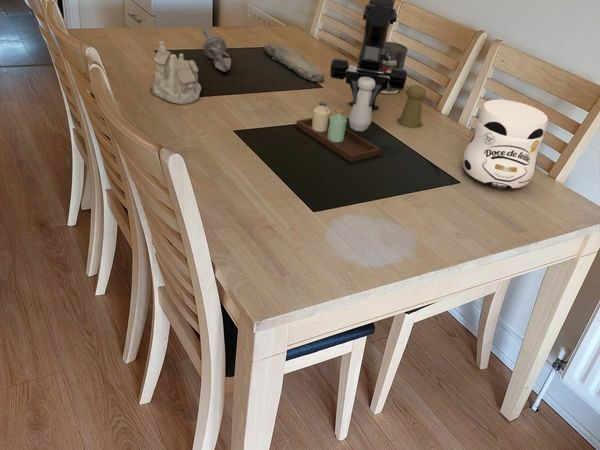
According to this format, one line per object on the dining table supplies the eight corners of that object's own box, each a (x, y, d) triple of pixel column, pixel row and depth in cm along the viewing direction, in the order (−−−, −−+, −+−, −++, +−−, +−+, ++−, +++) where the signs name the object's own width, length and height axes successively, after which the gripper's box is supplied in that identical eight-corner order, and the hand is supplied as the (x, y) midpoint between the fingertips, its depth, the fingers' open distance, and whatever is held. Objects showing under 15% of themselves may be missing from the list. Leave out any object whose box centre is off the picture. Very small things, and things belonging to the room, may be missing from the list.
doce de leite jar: (491, 200, 141) (515, 130, 131) (445, 166, 153) (463, 100, 143) (543, 190, 148) (569, 123, 138) (495, 159, 161) (515, 95, 151)
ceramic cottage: (171, 105, 166) (173, 51, 159) (142, 88, 176) (143, 36, 169) (218, 100, 175) (222, 48, 168) (188, 84, 186) (190, 34, 178)
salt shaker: (374, 128, 152) (383, 79, 144) (361, 134, 148) (371, 84, 140) (355, 121, 154) (364, 72, 147) (342, 126, 150) (350, 77, 143)
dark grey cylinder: (394, 96, 193) (403, 53, 186) (364, 89, 196) (372, 46, 189) (402, 87, 202) (411, 46, 194) (373, 80, 204) (380, 39, 197)
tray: (324, 122, 169) (325, 115, 168) (379, 156, 154) (381, 149, 153) (295, 127, 163) (296, 120, 162) (350, 163, 148) (351, 156, 147)
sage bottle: (336, 134, 161) (340, 106, 157) (346, 140, 158) (351, 112, 154) (323, 136, 159) (328, 108, 154) (334, 143, 156) (338, 114, 152)
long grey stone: (304, 87, 194) (329, 86, 199) (307, 72, 191) (333, 71, 196) (256, 48, 217) (279, 48, 222) (258, 34, 214) (281, 34, 220)
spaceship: (218, 21, 215) (198, 13, 211) (243, 63, 190) (221, 54, 186) (209, 41, 219) (189, 33, 214) (232, 84, 194) (210, 76, 189)
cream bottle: (320, 124, 166) (324, 99, 162) (330, 130, 163) (334, 104, 159) (308, 126, 163) (311, 101, 159) (317, 132, 160) (321, 107, 156)
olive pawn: (421, 122, 177) (430, 86, 171) (416, 128, 172) (425, 92, 167) (402, 116, 179) (410, 81, 173) (396, 123, 174) (404, 87, 168)
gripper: (337, 25, 142) (325, 84, 139) (414, 37, 141) (404, 97, 138) (336, 48, 153) (324, 104, 150) (408, 60, 152) (398, 116, 148)
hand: (362, 105), depth 146 cm, fingers closed on salt shaker, 3 cm apart
